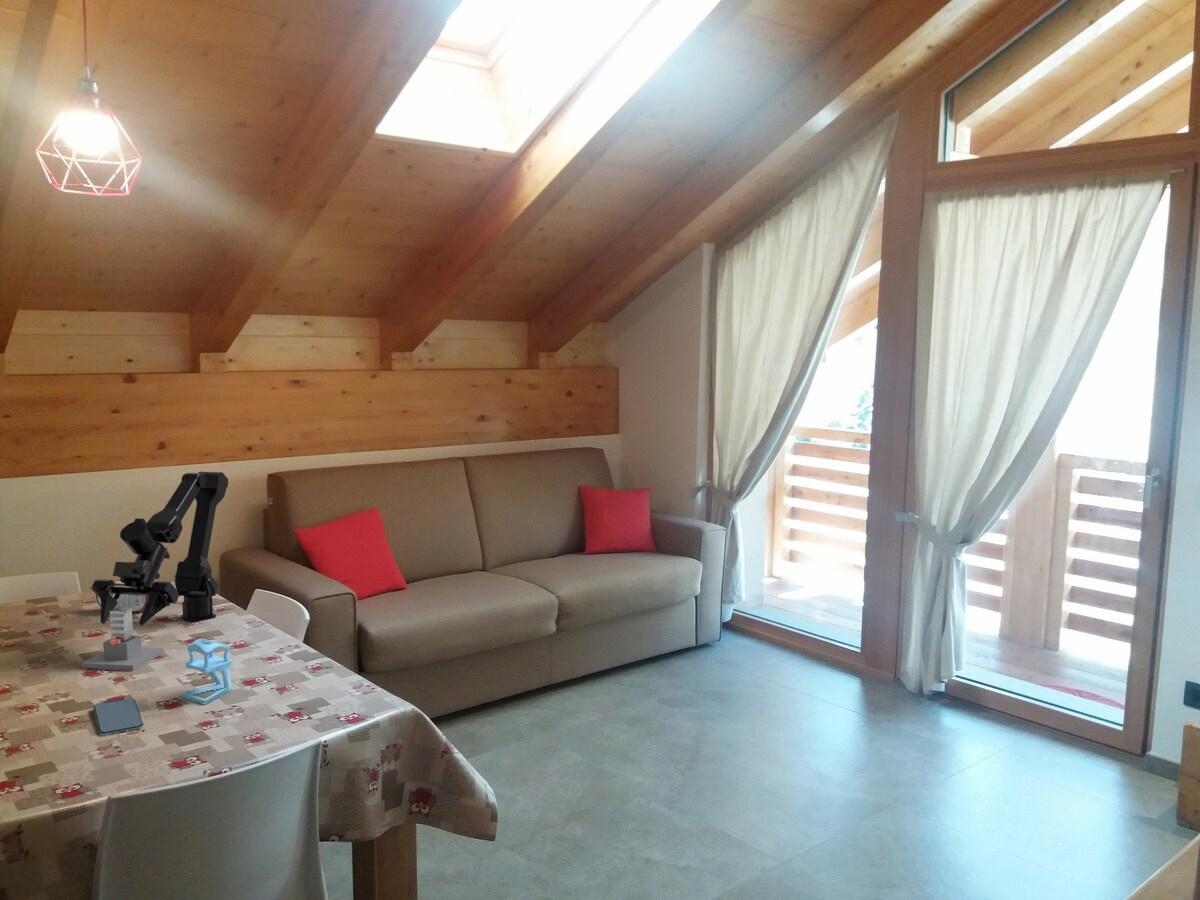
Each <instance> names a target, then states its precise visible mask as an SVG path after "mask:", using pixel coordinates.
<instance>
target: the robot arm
mask: <svg viewBox="0 0 1200 900" xmlns="http://www.w3.org/2000/svg"><path fill="white" fill-rule="evenodd" d="M228 486H229V478H228V477H227V476H226V475H225V473H224V472H222V471H201V470H200V471H198V472H187V473H186V472H185V473H184V474H183V475H182V476H181V480H180V483H179V484H178V486H177V487H176V489H175V491H174V492H173V494H172V495H171V496H170V498H169V500H168V501H167V503H166V504H165V506H164V508H163V509H162V510H161V511H160V510H159V511H157V512H156V513H154V514H153V515H152V516H151V517H150V518H149V520H147V521H146V520H145V519H144V518H139V517H138V518H137V517H136V518H135V519H134V521H133V522H129V523H128V524H126V525H125V526H124V527H123V528H122V529H121V530H120V533H119V536H120V539H121V540H122V542H124V544H125V545H126V546H127V548H128V549H129V550H130V551H131V552H132V553H133V554H135V555H136V558H135V560H134V561H130V562H129V561H128V562H127V561H116V562H114V566H113V573H112V577H119V580H120V581H121V582H122V583H124V586H117V585H116V584H115V583H114V581H113V580H114V579H105V578H104V579H103V578H98V579H96V580H94V581H93V583H92V584H91V586H90V590H92V592H93V593H94V594H95V596H96V595H97V596H98V597H99V598H100V599H101V607H100V623H101V624H102V625H105V624H106V622H107V621H108V619H110V611H111V610H114V608H115V607H116V605H117V603H118V602H117V601H116V600H117V599H118V598H119V597H120V595H121V594H128V595H148V602H147V604H146V607H145V609H144V610H143V611H142V612H141V613H142V614H141V616H140V619H139V622H138V624H139V626H144V625H145V624H146V623H147V622H149V621H150V620H151V619H152V618H153V617H154V616H155V615H157V614H158V613H160V611H162V610H164V609H165V608H166V607H170V606H171V604H177V603H178V600H179V597H183V601H182V603H181V604H182V607H181V608H182V614H181V615H180V616H181V617H180V618H182V619H185V620H188V621H190V622H199V621H203V620H206V619H207V620H208V619H212V618H215V617H217V614H215V613H214V609H213V607H214V606H213V597H214V596H216V595H217V594H218V591H219V584H218V582H217V581H216V580H215V579H214V577H212V575H213V572H212V571H213V569H212V566H211V564H210V562H209V559H208V557H209V551H210V544H211V539H212V533H213V529H214V528H213V527H214V523H215V522H214V521H215V515H216V511H217V510H216V509H217V506H218V505H219V503H220V502H221V501H222V500H224V497H225V495H226V492H227V488H228ZM194 501H196V504H195V505H196V506H195V511H194V512H195V513H194V517H193V521H192V528H191V533H190V539H189V540H190V541H189V545H188V550H187V556H186V557H185V558H184V560H181V561H178V562H177V564H176V565H177V566H176V572H175V575H174V584H173V583H171V581H156V580H160V578H161V577H160V576H161V575H160V574H159V571H160V568H161V566H162V564H163V561H164V559H165V560H166V559H167V560H168V559H170V558H171V557H170V553H169V551H168V548H167V547H165V546H164V544H175V543H176V542H177V541H178V540H179V538H180V536H181V532H182V531H183V523H182V521H183V518H184V517H185V515H186V513H187V512H188V510H189V509H190V507H191V505H192V504H193V502H194ZM174 585H175V586H174Z"/></svg>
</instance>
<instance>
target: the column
mask: <svg viewBox="0 0 1200 900" xmlns="http://www.w3.org/2000/svg"><path fill="white" fill-rule="evenodd" d="M109 619H110V622H109V623H110V639H121V642H127V641H129V640H131V639H133V636H134V630H133V613H132V608H126V607H118V608H116V609H114V610H111V611H110V616H109Z"/></svg>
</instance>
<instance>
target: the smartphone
mask: <svg viewBox="0 0 1200 900" xmlns="http://www.w3.org/2000/svg"><path fill="white" fill-rule="evenodd" d="M137 704H138V703H137V701H136V699H135V698H133V697H126V698H120V699H119V698H118V699H113V700H108V701H103V702H98V703H96V704H94V705H93V709H92V711H93V715H94V719H95V721H96V725H98V726H97V729H99V730H98V733H100V734H99V736H100V735H101V736H100V737H107V736H106V735H108V736H111V735H118V734H122V733H123V734H124V733H129V732H132V731H133V732H134V731H139V730H141V729H143V728H144V722H143V720H142V717H141V716H142V715H141V713H140V710H139V708H138V705H137ZM138 729H139V730H138Z"/></svg>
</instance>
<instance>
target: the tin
mask: <svg viewBox="0 0 1200 900" xmlns="http://www.w3.org/2000/svg"><path fill="white" fill-rule="evenodd" d="M112 580H113V581H114V583H115V584H116V585H117V586H124V583H122V582H121V581H120V579H112ZM95 599H96V602H97V604H98V606H99V607H100V608H101V599H100V598H99V597H98V596H97V595H96V594H95ZM116 601H117V602H118V603H117V605H116V607H115V608H114V609H116V608H118V607H126V608H132V612H138V613H142V612H143V611H144V609H145V607H146V604H147V602H148V595H128V594H121V595H120V597H119V598H118V599H117V600H116Z"/></svg>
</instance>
